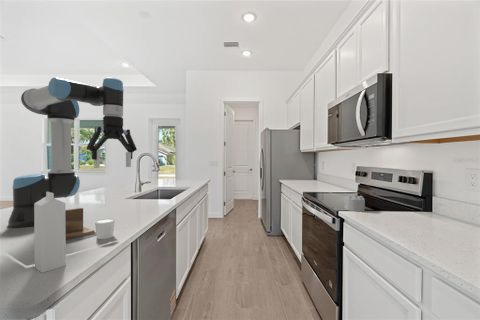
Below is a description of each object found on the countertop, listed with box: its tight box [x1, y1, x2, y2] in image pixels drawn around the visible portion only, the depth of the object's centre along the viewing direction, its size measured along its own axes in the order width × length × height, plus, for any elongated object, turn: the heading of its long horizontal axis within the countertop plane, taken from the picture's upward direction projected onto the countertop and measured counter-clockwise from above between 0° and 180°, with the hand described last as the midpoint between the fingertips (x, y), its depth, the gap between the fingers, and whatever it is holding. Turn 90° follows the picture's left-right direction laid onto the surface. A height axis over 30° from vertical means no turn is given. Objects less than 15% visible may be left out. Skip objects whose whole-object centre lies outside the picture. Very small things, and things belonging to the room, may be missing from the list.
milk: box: [33, 192, 67, 273], centre depth 75 cm, size 6×6×22 cm
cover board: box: [65, 207, 95, 240], centre depth 103 cm, size 12×12×10 cm
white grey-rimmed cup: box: [94, 218, 115, 240], centre depth 101 cm, size 7×7×7 cm
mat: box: [66, 231, 97, 245], centre depth 103 cm, size 20×14×1 cm
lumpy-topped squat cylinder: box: [344, 194, 366, 213], centre depth 159 cm, size 10×13×9 cm
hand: (113, 167), depth 106 cm, fingers open, 13 cm apart
